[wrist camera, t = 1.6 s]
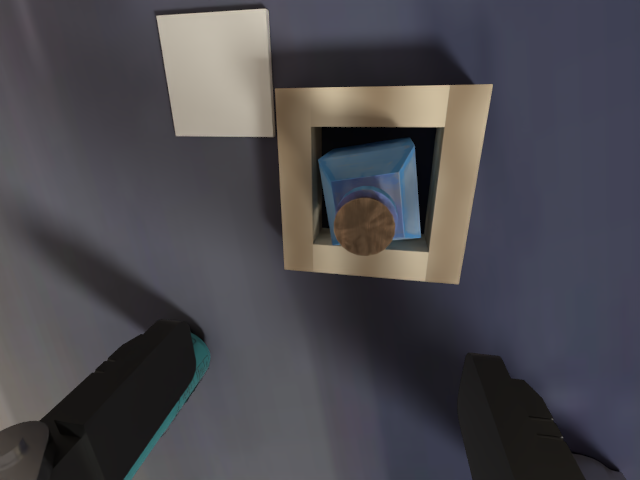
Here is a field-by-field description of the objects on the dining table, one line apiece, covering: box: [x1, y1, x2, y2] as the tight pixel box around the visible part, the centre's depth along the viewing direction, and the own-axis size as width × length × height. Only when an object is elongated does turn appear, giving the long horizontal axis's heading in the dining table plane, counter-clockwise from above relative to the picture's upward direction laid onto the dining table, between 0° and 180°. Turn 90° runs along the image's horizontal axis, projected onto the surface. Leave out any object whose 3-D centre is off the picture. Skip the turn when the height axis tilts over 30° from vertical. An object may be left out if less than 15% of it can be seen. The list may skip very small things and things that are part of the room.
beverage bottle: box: [124, 333, 210, 480], centre depth 30 cm, size 6×7×20 cm
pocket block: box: [275, 84, 493, 284], centre depth 26 cm, size 14×14×4 cm
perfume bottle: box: [318, 137, 421, 256], centre depth 22 cm, size 6×6×12 cm
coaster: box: [156, 9, 275, 137], centre depth 27 cm, size 9×9×1 cm
